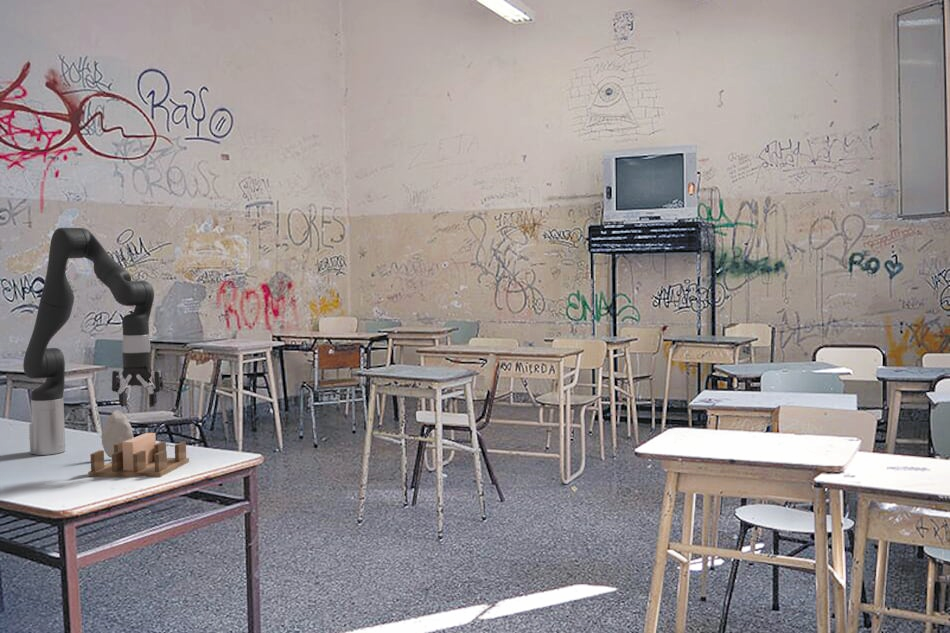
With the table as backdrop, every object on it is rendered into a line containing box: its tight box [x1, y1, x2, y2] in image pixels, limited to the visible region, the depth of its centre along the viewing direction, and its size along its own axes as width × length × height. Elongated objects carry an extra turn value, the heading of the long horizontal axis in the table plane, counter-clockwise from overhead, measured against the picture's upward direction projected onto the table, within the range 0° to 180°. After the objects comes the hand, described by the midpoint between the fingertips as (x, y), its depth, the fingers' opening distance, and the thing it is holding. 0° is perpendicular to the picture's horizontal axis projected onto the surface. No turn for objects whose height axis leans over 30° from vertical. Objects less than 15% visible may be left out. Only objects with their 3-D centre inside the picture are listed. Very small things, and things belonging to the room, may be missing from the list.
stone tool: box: [100, 409, 134, 459], centre depth 265 cm, size 9×3×15 cm, turn 123°
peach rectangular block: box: [122, 432, 157, 470], centre depth 250 cm, size 3×14×8 cm, turn 175°
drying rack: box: [87, 441, 190, 478], centre depth 250 cm, size 21×19×6 cm
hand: (138, 406), depth 249 cm, fingers open, 8 cm apart
